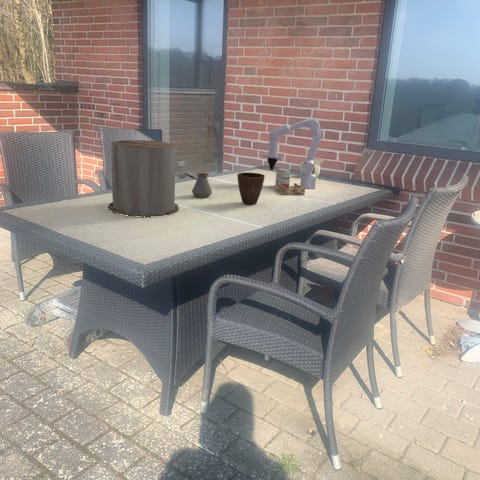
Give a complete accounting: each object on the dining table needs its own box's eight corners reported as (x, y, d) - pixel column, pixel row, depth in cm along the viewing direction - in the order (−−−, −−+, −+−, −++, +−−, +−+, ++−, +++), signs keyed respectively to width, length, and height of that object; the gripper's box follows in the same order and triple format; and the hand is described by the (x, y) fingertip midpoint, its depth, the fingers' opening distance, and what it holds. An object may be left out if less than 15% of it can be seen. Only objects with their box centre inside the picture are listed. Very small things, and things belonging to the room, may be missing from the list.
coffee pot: (200, 193, 295) (201, 168, 290) (215, 196, 289) (217, 170, 284) (175, 198, 278) (176, 171, 274) (191, 202, 272) (192, 175, 267)
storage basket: (149, 221, 231) (149, 151, 221) (93, 209, 247) (90, 142, 237) (192, 207, 260) (193, 145, 251) (139, 197, 276) (139, 138, 266)
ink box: (289, 188, 326) (290, 169, 322) (283, 188, 322) (285, 170, 319) (280, 185, 332) (281, 167, 328) (274, 186, 329) (276, 168, 325)
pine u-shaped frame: (294, 189, 323) (295, 183, 321) (304, 194, 307) (304, 188, 306) (276, 189, 319) (276, 183, 318) (285, 194, 304) (285, 188, 303)
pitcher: (301, 175, 376) (303, 156, 371) (324, 178, 368) (326, 159, 364) (296, 177, 366) (298, 158, 362) (319, 180, 359) (321, 161, 355)
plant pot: (257, 208, 268) (259, 178, 263) (231, 204, 272) (233, 175, 268) (266, 202, 281) (268, 174, 276) (241, 199, 286) (242, 171, 281)
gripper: (260, 147, 324) (259, 168, 328) (279, 150, 316) (277, 172, 320) (266, 147, 329) (265, 167, 333) (285, 149, 321) (283, 170, 325)
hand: (271, 169), depth 327 cm, fingers closed
